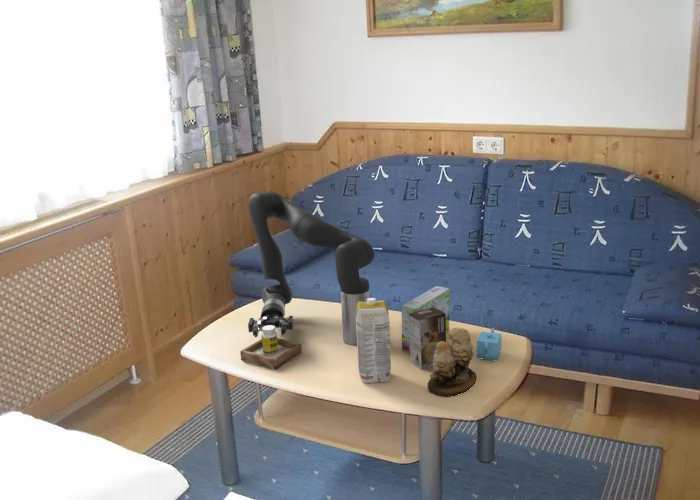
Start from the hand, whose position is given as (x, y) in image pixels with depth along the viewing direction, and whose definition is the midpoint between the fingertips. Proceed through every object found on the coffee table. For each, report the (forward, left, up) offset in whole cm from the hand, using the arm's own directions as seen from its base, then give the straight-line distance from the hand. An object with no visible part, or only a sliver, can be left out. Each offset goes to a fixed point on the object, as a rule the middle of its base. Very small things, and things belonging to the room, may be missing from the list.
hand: (269, 333), depth 222 cm
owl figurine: (-56, -13, -9) cm, 58 cm away
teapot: (-58, -34, -9) cm, 68 cm away
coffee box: (-44, -21, -9) cm, 49 cm away
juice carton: (-35, -5, -9) cm, 36 cm away
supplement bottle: (+1, -2, -8) cm, 8 cm away
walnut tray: (+1, -2, -9) cm, 9 cm away
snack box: (-36, -35, -9) cm, 51 cm away
